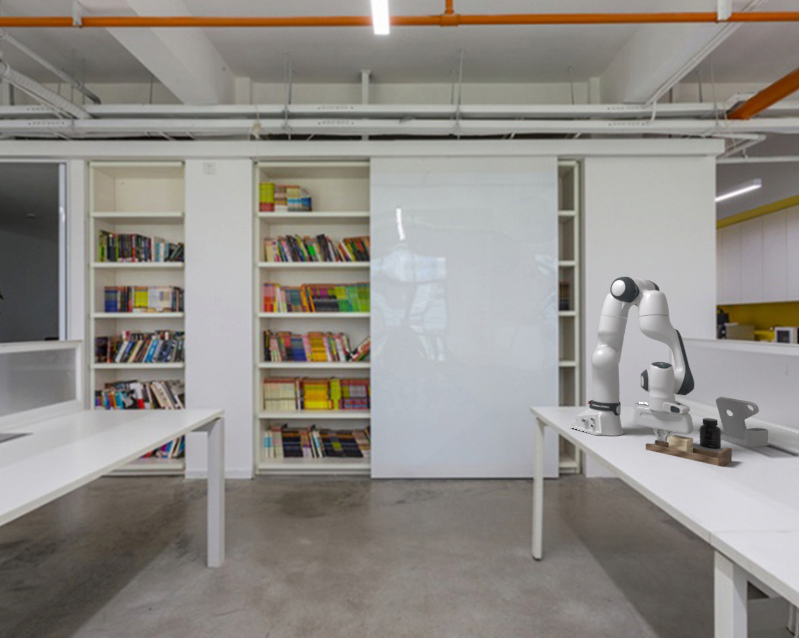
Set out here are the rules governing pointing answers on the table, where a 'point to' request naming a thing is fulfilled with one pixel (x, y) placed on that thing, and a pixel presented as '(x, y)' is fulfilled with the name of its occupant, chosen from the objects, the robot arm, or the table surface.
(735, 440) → the phone holder
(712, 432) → the supplement bottle
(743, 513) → the table surface
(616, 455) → the table surface
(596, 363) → the robot arm
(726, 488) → the table surface
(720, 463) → the walnut chute
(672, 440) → the maple block
